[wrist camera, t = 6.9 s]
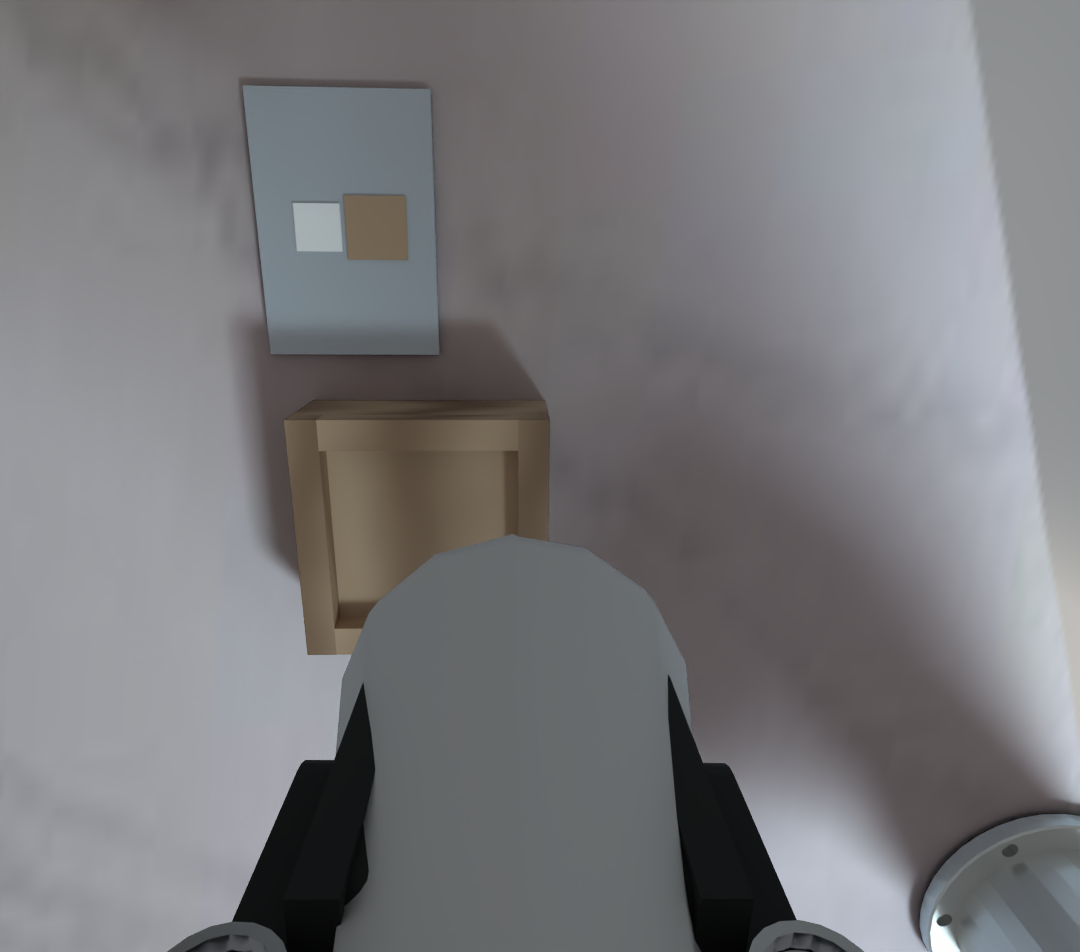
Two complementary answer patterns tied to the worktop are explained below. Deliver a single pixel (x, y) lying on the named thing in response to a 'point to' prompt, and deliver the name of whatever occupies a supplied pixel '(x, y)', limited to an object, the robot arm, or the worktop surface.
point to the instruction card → (345, 218)
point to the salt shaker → (518, 759)
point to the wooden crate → (404, 495)
